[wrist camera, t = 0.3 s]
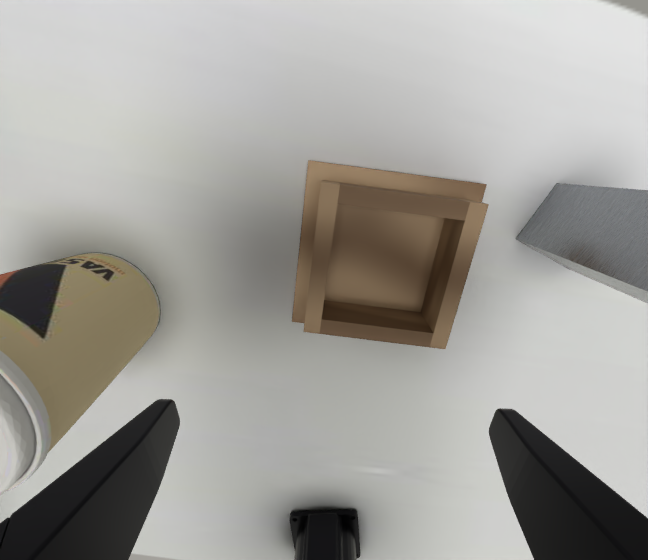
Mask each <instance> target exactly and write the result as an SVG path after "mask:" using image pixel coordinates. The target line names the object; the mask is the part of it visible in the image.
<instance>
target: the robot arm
mask: <svg viewBox="0 0 648 560" xmlns="http://www.w3.org/2000/svg"><path fill="white" fill-rule="evenodd" d="M179 425H180V418H179V415H178V411H177V408H176V404H175V402H174V401H173V400H171V399H159V400H157V401H155V402H154V403H153V404H151V405H150V406H149V407H147V408H146V409H145V410H144V411H142V412H141V413H140V414H139V415H137V416H136V417H135V418H133V419H132V420H131V421H130V422H128V423H127V424H126V425H125V426H123V427H122V428H121V429H120V430H118V431H117V432H116V433H114V434H113V435H112V436H111V437H109V438H108V439H107V440H106V441H104V442H103V443H102V444H100V445H99V446H98V447H97V448H95V449H94V450H93V451H92V452H90V453H89V454H88V455H87V456H85V457H84V458H83V459H81V460H80V461H79V462H78V463H76V464H75V465H74V466H73V467H71V468H70V469H69V470H67V471H66V472H65V473H64V474H62V475H61V476H60V477H59V478H57V479H56V480H55V481H54V482H52V483H51V484H50V485H48V486H47V487H46V488H45V489H43V490H42V491H41V492H40V493H38V494H37V495H36V496H34V497H33V498H32V499H31V500H29V501H28V502H27V503H26V504H24V505H23V506H22V507H21V508H19V509H18V510H17V511H15V512H14V513H13V514H12V515H11V517H10V518H6V519H5V520H4V521H3V522H1V523H0V560H128V559H129V557H130V554H131V552H132V550H133V547H134V545H135V543H136V540H137V538H138V536H139V533H140V531H141V529H142V527H143V524H144V522H145V520H146V517H147V515H148V513H149V510H150V508H151V506H152V503H153V501H154V499H155V497H156V494H157V492H158V489H159V487H160V484H161V481H162V479H163V476H164V473H165V470H166V466H167V463H168V460H169V457H170V454H171V451H172V448H173V445H174V442H175V439H176V436H177V432H178V429H179ZM489 436H490V440H491V443H492V446H493V449H494V453H495V456H496V459H497V462H498V466H499V469H500V472H501V475H502V478H503V482H504V485H505V488H506V491H507V494H508V497H509V499H510V502H511V505H512V507H513V509H514V512H515V514H516V517H517V519H518V522H519V524H520V526H521V529H522V531H523V534H524V536H525V538H526V541H527V543H528V546H529V548H530V550H531V553H532V555H533V558H534V560H648V518H647V517H646V516H644V515H643V514H642V513H641V512H639V511H638V510H637V509H636V508H634V507H633V506H632V505H631V504H630V503H628V502H627V501H626V500H625V499H623V498H622V497H621V496H620V495H618V494H617V493H616V492H615V491H614V490H612V489H611V488H610V487H609V486H607V485H606V484H605V483H604V482H602V481H601V480H600V479H599V478H598V477H596V476H595V475H594V474H593V473H591V472H590V471H589V470H588V469H586V468H585V467H584V466H583V465H582V464H580V463H579V462H578V461H577V460H575V459H574V458H573V457H572V456H571V455H569V454H568V453H567V452H566V451H564V450H563V449H562V448H561V447H559V446H558V445H557V444H556V443H555V442H553V441H552V440H551V439H550V438H548V437H547V436H546V435H545V434H543V433H542V432H541V431H540V430H539V429H537V428H536V427H535V426H534V425H532V424H531V423H530V422H529V421H527V420H526V419H525V418H524V417H523V416H521V415H520V414H519V413H518V412H516V411H515V410H513V409H497V410H496V412H495V414H494V417H493V419H492V422H491V425H490V427H489ZM290 525H291V531H292V536H293V542H294V548H295V560H356V558H359V557H360V543H359V528H358V514H357V512H356V511H355V510H333V511H303V512H292V513H291V514H290Z"/></svg>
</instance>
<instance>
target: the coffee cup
mask: <svg viewBox="0 0 648 560" xmlns="http://www.w3.org/2000/svg"><path fill="white" fill-rule="evenodd" d="M159 318H160V304H159V300H158V296H157V294H156V291H155V289H154V287H153V286H152V284H151V283H150V281H149V280H148V279H147V277H146V276H145V275H144V274H143V273H142V272H141V271H140V270H139V269H138V268H136V267H135V266H133V265H132V264H130V263H129V262H127V261H125V260H123V259H121V258H119V257H116V256H113V255H109V254H104V253H87V254H81V255H76V256H72V257H68V258H63V259H59V260H55V261H52V262H48V263H44V264H40V265H36V266H32V267H28V268H24V269H20V270H16V271H12V272H9V273H5V274H1V275H0V495H1V494H3V493H4V492H6V491H9V490H12V489H14V488H15V487H17V486H19V485H20V484H22V483H23V482H24V481H26V480H27V479H28V478H29V477H30V476H31V475H32V474H33V473H34V472H35V471H36V470H37V469H38V468H39V466H40V465H41V464H42V462H43V461H44V459H45V458H46V456H47V454H48V452H49V451H50V450H51V449H52V448H53V447H54V446H55V445H56V443H57V442H58V441H59V440H60V439H61V438H62V437H63V436H64V435H65V434H66V433H67V432H68V430H69V429H70V428H71V427H72V426H73V425H74V424H75V423H76V421H77V420H78V419H79V418H80V417H81V416H82V415H83V414H84V412H85V411H86V410H87V409H88V408H89V407H90V406H91V405H92V403H93V402H94V401H95V400H96V399H97V398H98V397H99V395H100V394H101V393H102V392H103V391H104V390H105V389H106V388H107V386H108V385H109V384H110V383H111V382H112V381H113V380H114V378H115V377H116V376H117V375H118V374H119V373H120V372H121V370H122V369H123V368H124V367H125V366H126V365H127V364H128V362H129V361H130V360H131V359H132V358H133V357H134V356H135V354H136V353H137V352H138V351H139V350H140V349H141V348H142V346H143V345H144V344H145V343H146V342H147V340H148V339H149V338H150V337H151V336H152V334H153V333H154V331H155V329H156V327H157V325H158V322H159Z"/></svg>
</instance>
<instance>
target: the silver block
mask: <svg viewBox="0 0 648 560" xmlns="http://www.w3.org/2000/svg"><path fill="white" fill-rule="evenodd" d="M516 240H518V241H520V242H522V243H524V244H525V245H527V246H529V247H531V248H532V249H534V250H536V251H538V252H540V253H541V254H543V255H545V256H547V257H548V258H550V259H552V260H554V261H555V262H557V263H559V264H561V265H563V266H564V267H566V268H568V269H570V270H572V271H575V272H577V273H579V274H582V275H584V276H586V277H588V278H591V279H593V280H595V281H598V282H600V283H602V284H605V285H607V286H609V287H611V288H614V289H616V290H618V291H621V292H623V293H625V294H628V295H630V296H632V297H634V298H637V299H639V300H641V301H644V302H646V303H648V190H636V189H623V188H610V187H597V186H584V185H571V184H559V183H557V184H556V185H555V187H554V188H553V189H552V191H551V192H550V193H549V195H548V196H547V197H546V199H545V200H544V202H543V203H542V204H541V206H540V207H539V208H538V210H537V211H536V212H535V214H534V215H533V216H532V218H531V219H530V220H529V222H528V223H527V224H526V226H525V227H524V228H523V230H522V231H521V233H520V234H519V235H518V237H517V238H516Z"/></svg>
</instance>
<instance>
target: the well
mask: <svg viewBox="0 0 648 560" xmlns="http://www.w3.org/2000/svg"><path fill="white" fill-rule="evenodd" d="M486 185H487V184H479V183H472V182H465V181H457V180H450V179H442V178H435V177H427V176H420V175H413V174H405V173H398V172H390V171H383V170H376V169H368V168H361V167H353V166H346V165H338V164H331V163H324V162H316V161H309V160H308V169H307V179H306V189H305V199H304V209H303V218H302V228H301V238H300V248H299V257H298V267H297V277H296V287H295V296H294V306H293V316H292V322H299V323H305V324H304V332H310V333H318V334H326V335H335V336H343V337H351V338H359V339H367V340H375V341H383V342H391V343H399V344H408V345H416V346H424V347H432V348H440V349H445V348H446V345H447V342H448V338H449V335H450V332H451V328H452V325H453V322H454V318H455V315H456V312H457V308H458V305H459V302H460V298H461V295H462V292H463V288H464V285H465V282H466V278H467V275H468V272H469V268H470V265H471V262H472V258H473V255H474V252H475V248H476V245H477V242H478V238H479V235H480V232H481V228H482V225H483V222H484V218H485V215H486V212H487V208H488V205H489V204H485V203H481V202H482V199H483V195H484V192H485V189H486Z"/></svg>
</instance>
